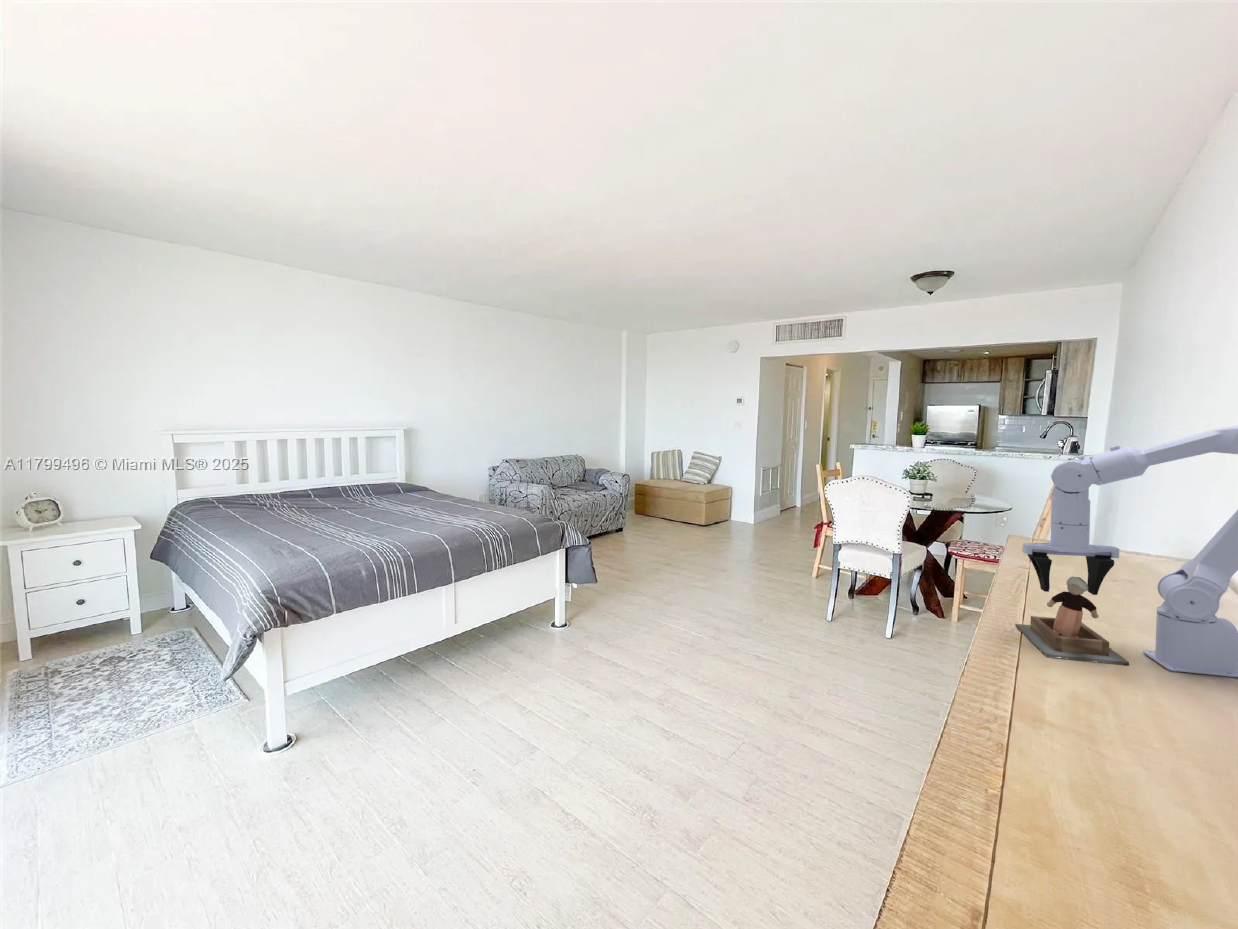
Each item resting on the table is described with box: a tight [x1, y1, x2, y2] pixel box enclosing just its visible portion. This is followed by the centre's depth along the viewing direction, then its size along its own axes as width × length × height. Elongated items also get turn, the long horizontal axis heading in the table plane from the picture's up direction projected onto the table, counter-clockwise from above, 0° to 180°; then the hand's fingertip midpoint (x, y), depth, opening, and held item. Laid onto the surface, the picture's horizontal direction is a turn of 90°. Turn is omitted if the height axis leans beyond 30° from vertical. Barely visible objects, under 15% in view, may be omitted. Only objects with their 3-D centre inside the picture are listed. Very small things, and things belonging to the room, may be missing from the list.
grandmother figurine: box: [1046, 576, 1100, 638], centre depth 103 cm, size 8×4×13 cm, turn 55°
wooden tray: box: [1014, 615, 1130, 666], centre depth 103 cm, size 12×16×3 cm
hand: (1068, 591), depth 102 cm, fingers open, 7 cm apart
